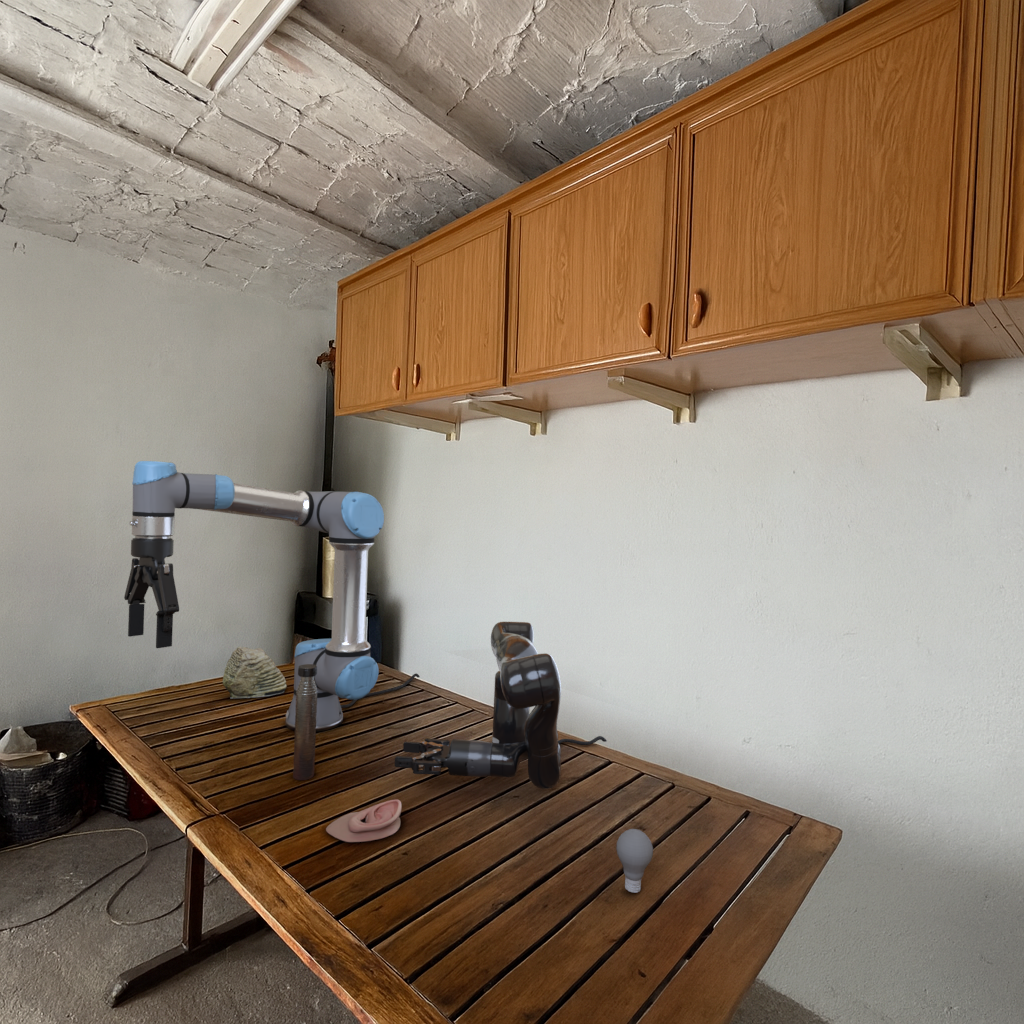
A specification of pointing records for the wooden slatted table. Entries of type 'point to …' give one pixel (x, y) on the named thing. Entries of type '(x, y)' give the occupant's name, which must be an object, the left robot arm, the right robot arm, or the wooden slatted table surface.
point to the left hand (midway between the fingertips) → (149, 641)
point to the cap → (307, 670)
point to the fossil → (252, 674)
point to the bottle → (305, 729)
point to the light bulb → (634, 857)
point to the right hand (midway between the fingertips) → (399, 753)
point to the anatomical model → (368, 823)
